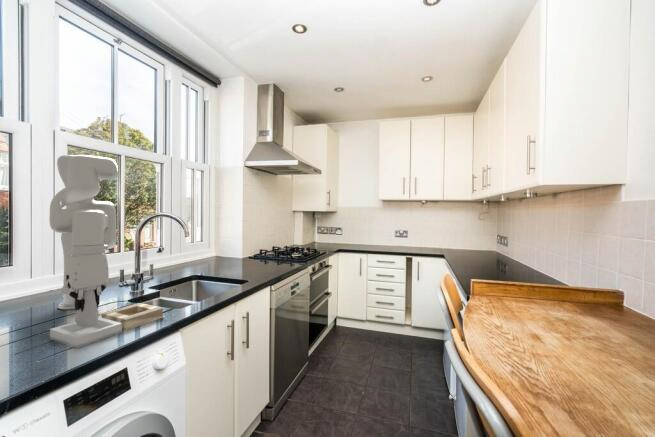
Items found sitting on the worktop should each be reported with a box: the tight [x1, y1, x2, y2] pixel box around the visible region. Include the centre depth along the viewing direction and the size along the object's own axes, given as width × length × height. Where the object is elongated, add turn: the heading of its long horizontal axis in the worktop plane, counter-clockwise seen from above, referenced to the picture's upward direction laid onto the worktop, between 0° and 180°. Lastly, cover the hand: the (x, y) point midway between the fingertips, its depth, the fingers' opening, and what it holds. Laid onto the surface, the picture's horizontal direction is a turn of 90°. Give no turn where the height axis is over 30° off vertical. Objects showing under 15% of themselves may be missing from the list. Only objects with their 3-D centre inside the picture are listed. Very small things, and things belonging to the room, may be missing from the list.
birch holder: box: [101, 302, 164, 331], centre depth 101 cm, size 13×13×4 cm
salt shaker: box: [74, 285, 100, 327], centre depth 88 cm, size 6×6×13 cm
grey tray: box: [49, 316, 123, 349], centre depth 88 cm, size 14×12×3 cm
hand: (87, 309), depth 88 cm, fingers closed on salt shaker, 3 cm apart
